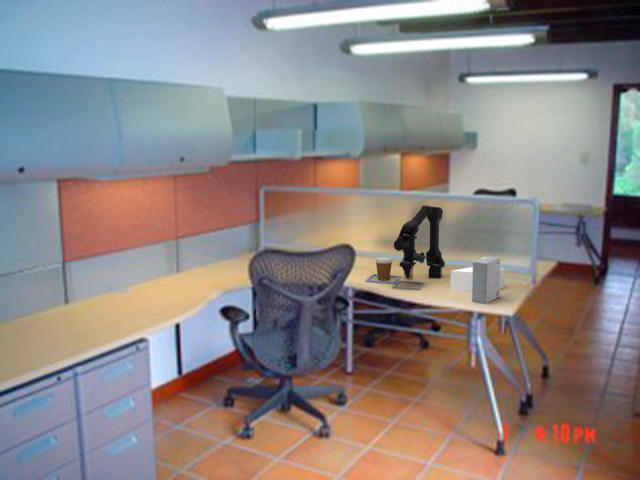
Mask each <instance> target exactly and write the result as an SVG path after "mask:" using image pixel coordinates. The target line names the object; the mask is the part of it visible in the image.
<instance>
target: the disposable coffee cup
mask: <svg viewBox="0 0 640 480" xmlns="http://www.w3.org/2000/svg"><path fill="white" fill-rule="evenodd" d="M374 261H375V263H376V264H375V265H376V274H377V275H378V276H377V281H387V282H389V281H390V278H391V277H390V275H391V271H392V263H393V258H392V257H389V256H377V257H376V258H375V260H374Z"/></svg>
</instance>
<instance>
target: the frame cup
mask: <svg viewBox="0 0 640 480" xmlns="http://www.w3.org/2000/svg"><path fill="white" fill-rule="evenodd" d="M374 277H378V275H377V273H376V274H375V273H372V274H371V275H370V276H368V278H367V279H365V281H364V282H366V283H374V284H375V283H376V284H377V283H378V284H388V285H394V284H395V283H396V282H397V281H398V280H399V279H400V278H401V279H402V277H403V276H402V275H392V274H390V278H395V280H394V281H380V280H374V279H373V278H374ZM372 279H373V280H372ZM399 281H400V280H399Z"/></svg>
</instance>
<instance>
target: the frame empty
mask: <svg viewBox="0 0 640 480" xmlns="http://www.w3.org/2000/svg"><path fill="white" fill-rule="evenodd" d="M400 283H401V284H414V285H419V286H417V287H408V286H398V285H399V284H400ZM425 283H426V282H423V281H413V280H398V281H397V282H396V283H395V284H392V286H391V289H397V290H398V289H400V290H410V291H420V290H421V289H422V288H423V287H424V285H425Z"/></svg>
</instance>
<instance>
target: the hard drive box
mask: <svg viewBox="0 0 640 480" xmlns="http://www.w3.org/2000/svg"><path fill="white" fill-rule="evenodd" d="M472 267H473V272H472V292H471V302H472V303H477V302H479V304H483V303H485V305H487V304H489V303H491V302H492V300H493V301H494V299H495V300H496V298H497V299H498V297H499V298H500V294H501V293H500V290H501V289H500V269H501V257H497V256H496V257H495V256H487V255H486V256H483V257H480V258H479V259H476V260H474V261H472ZM490 301H491V302H490ZM488 302H489V303H488ZM486 303H487V304H486Z"/></svg>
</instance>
